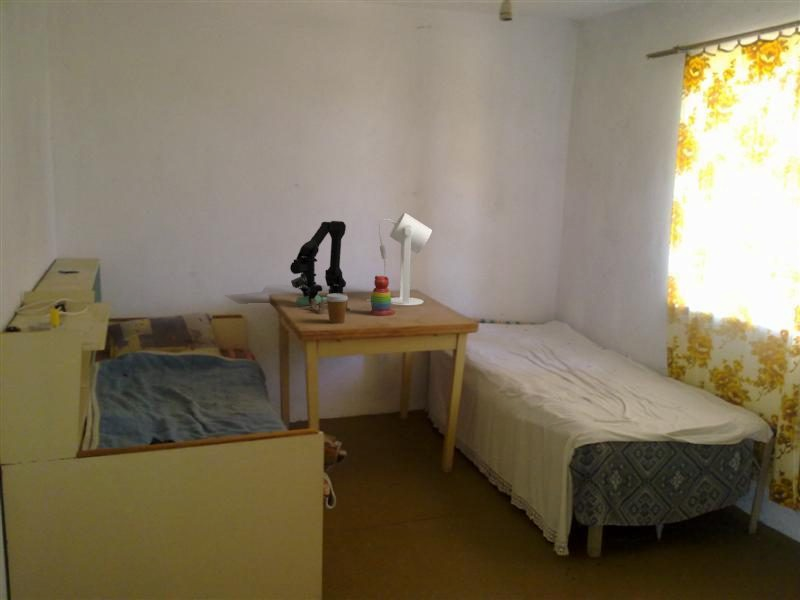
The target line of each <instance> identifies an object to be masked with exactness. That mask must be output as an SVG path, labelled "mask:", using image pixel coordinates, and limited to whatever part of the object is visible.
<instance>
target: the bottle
mask: <svg viewBox="0 0 800 600" xmlns="http://www.w3.org/2000/svg"><path fill="white" fill-rule="evenodd" d="M326 297H327V296H322V297H321V296H320V295H316V297H315V299H316V306H318V305H317V304H318V302H324V303H325V302H327V299H326ZM295 300H296V303H295V304H296V306H297V307H298V306H299V307H308V306H307V305H309V306H311V304H310V303H309V296H306V297H304V296H297V297H296V299H295Z"/></svg>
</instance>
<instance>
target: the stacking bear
mask: <svg viewBox="0 0 800 600" xmlns="http://www.w3.org/2000/svg"><path fill="white" fill-rule="evenodd" d="M389 284H390V281H389V277H387V276H386V277H384V275H375V276H374V286H375V287H374V288H373V290H372V292H371V297H370V300H371V301H370V304H371V306H370V307H371V310H370V314H371V315H372V316H376V317H377V316H379V317H385V316H393V315H395V313H396V312H395V311H396V310H395V309H393V308H391V305H392V304H391V298H392V296H391V292H390V289H389V288H388V287H389Z"/></svg>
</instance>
